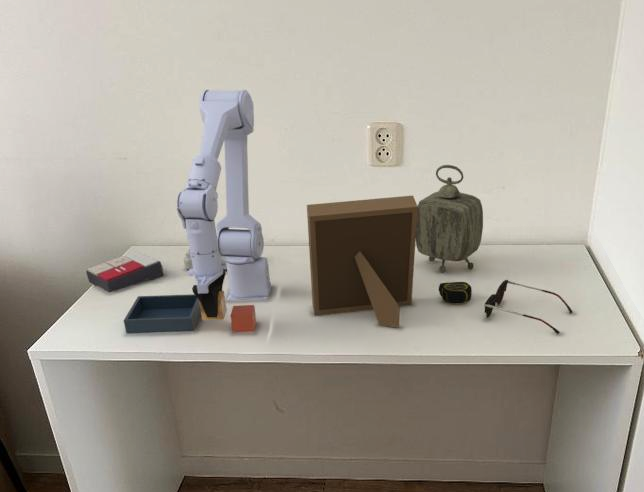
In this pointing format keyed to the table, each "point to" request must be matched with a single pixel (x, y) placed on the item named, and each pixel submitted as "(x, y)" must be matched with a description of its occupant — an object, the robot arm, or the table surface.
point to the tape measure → (455, 292)
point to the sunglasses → (498, 299)
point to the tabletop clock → (449, 223)
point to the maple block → (221, 308)
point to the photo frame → (363, 256)
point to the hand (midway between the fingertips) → (214, 311)
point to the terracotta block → (243, 318)
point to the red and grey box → (124, 271)
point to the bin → (163, 314)
